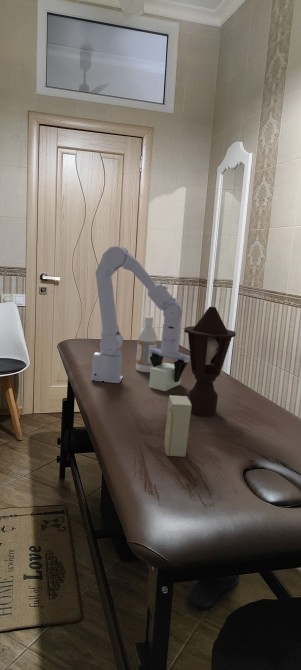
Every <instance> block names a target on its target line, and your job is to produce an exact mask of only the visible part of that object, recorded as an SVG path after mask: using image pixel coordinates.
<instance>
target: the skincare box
mask: <svg viewBox="0 0 301 670" xmlns="http://www.w3.org/2000/svg"><path fill="white" fill-rule="evenodd" d="M191 407H192V405H191V403H190V401H189V396H187V395H172V394H169V395H168V404H167V414H166V423H165V433H164V442H163V445H164V450H165V455H166V456H167V457H181V458H182V457H184V458H185V457H186V454H187V445H188V438H189V431H190V420H191V415H192V414H191Z"/></svg>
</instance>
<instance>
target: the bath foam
mask: <svg viewBox="0 0 301 670" xmlns="http://www.w3.org/2000/svg"><path fill="white" fill-rule="evenodd" d="M153 322H154V316H147V315H145V316H144V326H143V328H142V329H141V330H140V331H139V333H138V336H137V346H136V347H137V348H136V358H135V359H136V360H135V370H136V371H137V372H140V373H150V368H153V365H152V362H151V360H150V356H152V355H151V354H149V350H150V348H156V349H157V345H158V344H157V341H158V339H157V333H156V331H155V329H154V328H153Z"/></svg>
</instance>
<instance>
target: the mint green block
mask: <svg viewBox="0 0 301 670" xmlns="http://www.w3.org/2000/svg"><path fill="white" fill-rule="evenodd" d="M174 376H175V367H174V363H168V362H164V363H162V364H161V365H158V366H155V367H153V368H150V372H149V379H148V381H149V383H148V388H150V389H154V390H157V391H162V392H167V391H168V390H171V389H172V388H176V387H177V386H180V385H181V378H182V376H181V377H180V380H179V382H174Z"/></svg>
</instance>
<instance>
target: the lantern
mask: <svg viewBox="0 0 301 670" xmlns="http://www.w3.org/2000/svg"><path fill="white" fill-rule="evenodd" d="M184 333H186V334H187V335H188V336H187V337H188V345H189V356H190V366H191V373H192V374H193V375H194V379H195V380H196V381H195V383H194V386H193V388H191V389H190V390H189V391H188V399H189V401H190V403H191V405H192V407H191V415H193V416H197V417H204V418H205V417H213V416H215V415H216V414H217V408H218V407H217V406H218V398H219V397H218V396H219V394H218V392H217V391H216V390H215V387H214V382H215V381H216V379H217V378H218V377H220V375H221V372H222V369H223V366H224V363H225V360H226V356H227V355H228V350H229V348H230V344H231V341H232V339H233V338H235V337H236V336H237V335H236V334H237V333H236V331H235V330H230V329H227V328H226V325H225V323H224V322H223V320H222V318H221V316H220V314H219V311H218V310H217V308H216V306H209V307H208V308H207V310H206V311H205V312H204V314H203V315H202V316H201V318H200V319H199V320H198V322H197V323H196V325H191V326H186V327H184Z"/></svg>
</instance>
